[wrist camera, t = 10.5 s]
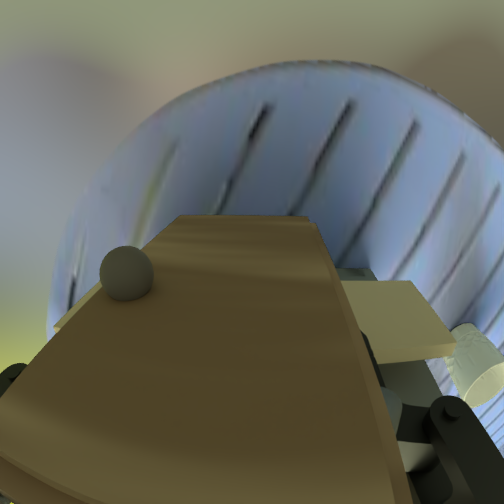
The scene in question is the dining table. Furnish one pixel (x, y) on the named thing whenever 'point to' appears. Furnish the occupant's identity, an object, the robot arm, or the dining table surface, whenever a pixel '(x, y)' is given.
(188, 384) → the cabinet
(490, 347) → the white cup
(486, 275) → the dining table surface
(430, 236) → the dining table surface
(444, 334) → the wall board
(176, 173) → the dining table surface
